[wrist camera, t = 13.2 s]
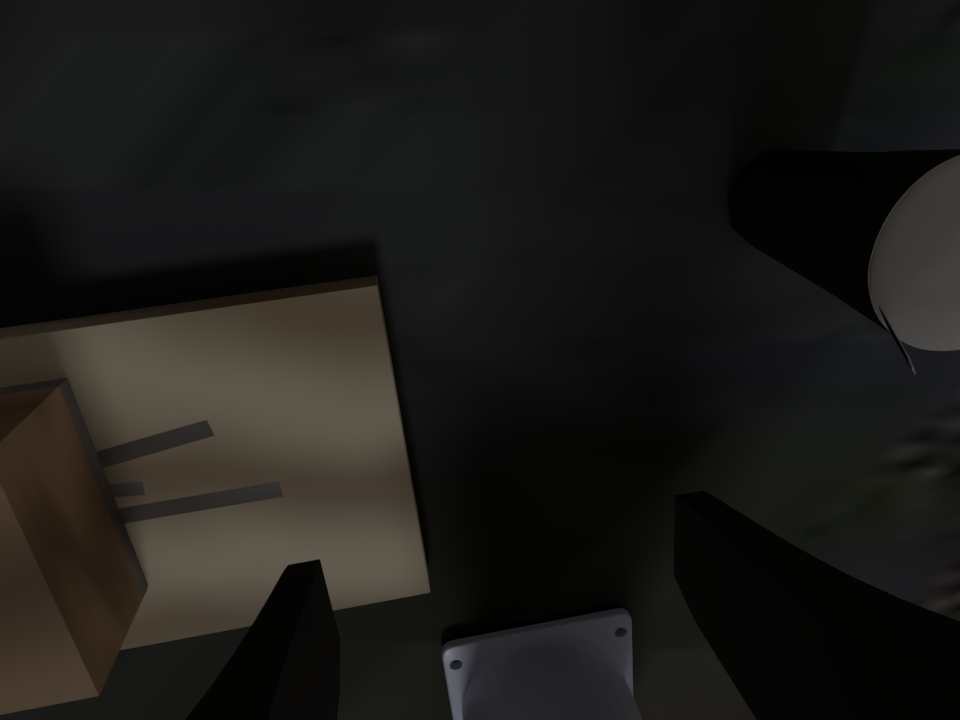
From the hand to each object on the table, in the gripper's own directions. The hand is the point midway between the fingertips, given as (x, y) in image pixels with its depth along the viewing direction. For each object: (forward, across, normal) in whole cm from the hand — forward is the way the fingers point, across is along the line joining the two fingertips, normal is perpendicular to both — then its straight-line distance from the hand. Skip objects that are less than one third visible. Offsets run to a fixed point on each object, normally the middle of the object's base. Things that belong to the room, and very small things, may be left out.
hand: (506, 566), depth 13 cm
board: (+10, +10, +2) cm, 15 cm away
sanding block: (+9, +14, +2) cm, 16 cm away
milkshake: (+11, -11, -4) cm, 16 cm away
